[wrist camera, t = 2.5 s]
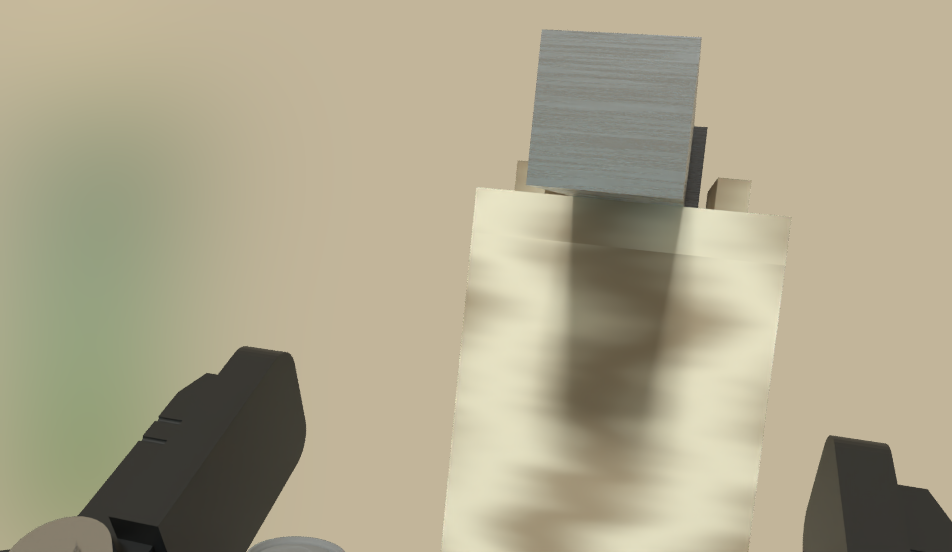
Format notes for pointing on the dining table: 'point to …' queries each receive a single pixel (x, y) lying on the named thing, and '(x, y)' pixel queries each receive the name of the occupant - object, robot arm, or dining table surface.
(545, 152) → the gray block
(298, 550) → the beverage can
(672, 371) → the beige patterned box
